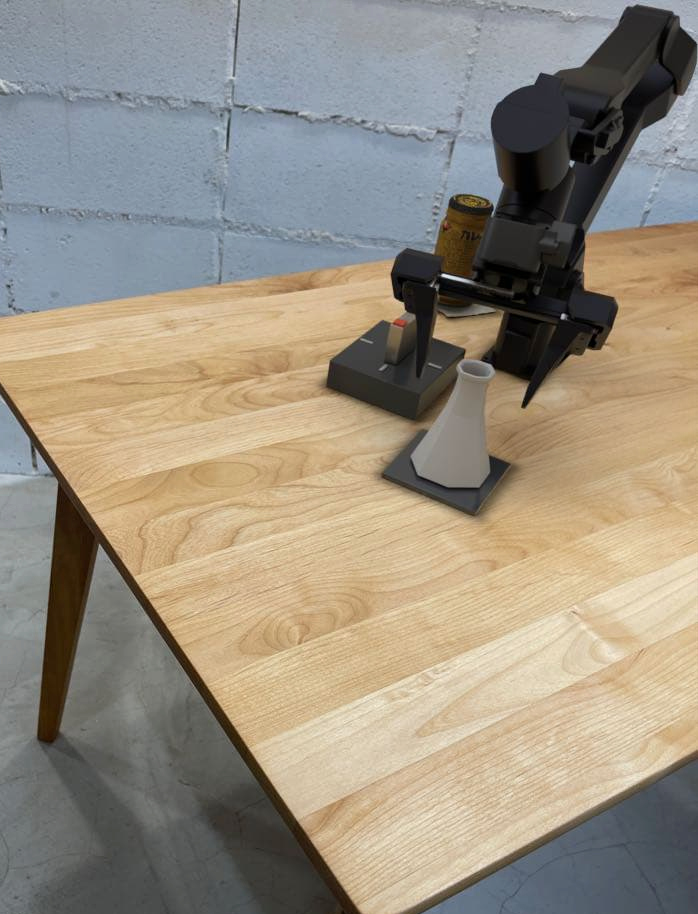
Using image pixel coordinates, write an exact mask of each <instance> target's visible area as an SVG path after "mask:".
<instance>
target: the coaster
mask: <svg viewBox="0 0 698 914" xmlns="http://www.w3.org/2000/svg"><path fill="white" fill-rule="evenodd" d="M428 431H429V430H427V429H424V428H423V429H422V430H421V431H420V432H419V433H418V434H417V435H416V436H415V437H414V438H413V439H412V440H411V441H410V442H409V443H408V444H407V445H406V446H405V447H404V449H403V450H401V452H400V453H399V454H398V455H397V456H396V457H395V458H394V459H393V460H392V461H391V462H390V463H389V464H388V465H387V466H386V468H384V470H383V471H381V475H380V477H381V478H383V479H386V480H387V481H390V482H393V483H395V484H397V485H400V486H402V487H405V488H407V489H409V490H412V491H414V492H416V493H419V494H421V495H424V496H426V497H428V498H431V499H433V500H435V501H438V502H440V503H443V504H445V505H447V506H449V507H452V508H454V509H457V510H459V511H461V512H464V513H466V514H468V515H470V516H474V517H476V515H477V514H478V513H479V511H480V510H481V508H482V507H483V506H484V504H485V503H486V502H487V500H488V499H489V498H490V496H491V495H492V494H493V492H494V490H495V489H496V488H497V487H498V485H499V484H500V483H501V481H502V480H503V478H504V477H505V475H506V474H507V473H508V471H509V470H510V469H511V467H512V463H511V462H509V461H505V460H503V459H500V458H498V457H495V456H493V455H491V454H488V455H489V463H490V473H489V475H488V476H487V477H486V479H485V480H484V482H483V483H482V484H481V486H480V487H446V486H444V485H441V484H439V483H436V482H434V481H431V480H429V479H426V478H424V477H421V476H419V475H418V474H417V472H416V469H415V466H414V464H413V461H412V459H411V455H412V453H413V452H414V450H415V449H416V448H417V446H418V445H419V443H420V442H421V441H422V439H423V438H424V437H425V435H426V434H427V433H428Z"/></svg>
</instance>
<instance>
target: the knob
mask: <svg viewBox="0 0 698 914" xmlns="http://www.w3.org/2000/svg"><path fill="white" fill-rule="evenodd" d="M391 323H392V324H391V325H390V330H389V336H388V341H387V346H386V351H385V356H384V361H386V362H389V363H392V364H394V365H396V364H397V363H399V362H400V361H401V360H402V359H403V358H404V357H405V356H407V355H408V354H409V353H410V352H411V351H412V350H413V349H415V348H416V337H417V328H416V318H415V315H414V314H411V313H408V312H407V311H405V312H404V313H403V314H401V316H399V317H397V318H396V319H395V320H393V321H392V322H391Z"/></svg>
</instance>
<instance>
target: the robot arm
mask: <svg viewBox="0 0 698 914" xmlns="http://www.w3.org/2000/svg"><path fill="white" fill-rule="evenodd" d="M697 63H698V42H697V41H696V40H695V39H694V38H693V37H692V36H691V35H690V34H689V33H687V31H686V30H684V28H683V27H682V26H681V17H680V15H678V14H675V13H674V10H669V9H665V8H660V7H654V6H648V5H644V4H643V5H642V4H639V3H637V4H635V5H633V6H630V5H628V6H626V7H625V9H624V10H623V12H622V14H621V16H620V18H619V20H618V23H617V25H616V27H615V28H614V29H613V30H612V31H611V32H610V33H609V35H608V36H607V37H606V38H605V39H604V40H603V41H602V43H600V45H599V46H598V47H597V48H596V49H595V51H593V53H592V54H591V55H590V56H589V58H587V59H586V61H585V62H584V63H583V64H582V65H581V66H579V67H572V68H571V67H570V68H564V69H559V70H558V71H557V72H555V73H553V74H550V73H545V72H539V74H538V76H537V78H536V79H535V81H534V84H529V85H525V86H521V87H519V88H517V89H515V90H512V91H511V92H510V93H508V94H507V95H506V96H505V97H504V98H502V99H501V101H499V102H497V104H496V105H495V107H494V109H493V111H492V113H491V117H490V131H491V132H490V133H491V137H492V143H493V144H492V145H493V150H494V151H493V152H494V157H495V163H496V171H497V176H498V178H499V179H500V181H501V183H503V184H502V187H501V191H500V193H499V197H498V199H497V203H496V205H495V207H494V211H493V213H492V216H491V217H488V218H487V222H486V225H485V229H484V232H483V236H482V238H481V240H480V243H479V246H478V249H477V252H476V255H475V258H474V261H473V264H472V271H474V275H473V278H472V279H471V278H467V277H463V276H459V275H455V274H451V273H446V272H445V261H444V256H440V255H435V254H434V253H430V252H426V251H424V250H423V251H422V250H418V249H414V248H410V247H405V248H404V249H403V250H401V251H399V253H397V255H396V256H395V259H394V261H393V265H392V268H391V271H390V273H389V275H390V281H391V287H392V293H393V294H392V295H393V298H394V299H395V300H397V301H398V302H400V303H403V307H404V311H405V312H408V313H411V314H414V315H415V318H416V328H417V337H416V379H417V380H421V378H422V375H423V373H424V370H425V368H426V364H427V359H428V355H429V350H430V346H431V341H432V337H433V336H434V333H435V327H436V322H437V318H438V309H437V303H438V301H439V298H440V295H442V296H446V297H450V298H454V299H458V300H462V301H466V302H470V303H474V304H478V305H482V306H486V307H490V308H493V309H494V310H498V311H502V312H503V314H502V318H501V321H500V325H499V328H498V332H497V335H496V339H495V342H494V344H493V345H492V346H491V347H490V348H489V349H488V350H487V352H485V353H484V354H483V356H481V359H480V361H482V362H485V363H488V364H491V365H492V367H493V368H495V369H498V370H501V371H504V372H507V373H510V374H513V375H515V376H518V377H521V378H523V379H527V380H529V383H528V384H527V387H526V390H525V393H524V396H523V398H522V402H521V406H520V408H521V409H524V410H525V409H526V408H527V407H528V406H529V405H530V403H531V402H532V400H533V399H534V398H535V397H536V396H537V394H538V392H539V391H540V390H541V389H542V387H543V386H544V385H545V383H546V382H547V381H548V379H549V378H550V377H551V376H552V374H554V372H555V371H556V370H557V369H558V368H559V367H560V366H561V365H562V364H563V363H564V362H565V361H566V360H567V359H568V358H569V357H570V356H577V357H582V356H584V355H585V352H586V350H590V351H593V352H594V351H602V349H603V348H604V346H605V343H606V341H607V339H608V338H609V335H610V333H611V332H612V330H613V327H614V324H615V321H616V318H617V314H618V311H619V307H620V306H619V303H618V302H617V300H616V298H615V296H611V295H607V294H602V293H598V292H594V291H590V290H586V289H585V272H584V267H585V266H584V265H585V259H586V258H585V256H586V239H585V238H586V235H587V233H588V231H589V229H590V228H591V226H592V223H593V221H594V220H595V218H596V216H597V214H598V212H599V210H600V208H601V207H602V205H603V204H604V201H605V200H606V198H607V196H608V194H609V192H610V190H611V189H612V186H613V184H614V183H615V181H616V179H617V177H618V175H619V173H620V171H621V170H622V168H623V166H624V164H625V162H626V161H627V158H628V156H629V154H630V153H631V151H632V149H633V147H634V145H635V143H636V141H637V139H638V138H639V136H640V134H641V132H642V131H643V130H645V129H647V128H649V127H650V126H652V125H654V124H655V123H658V122H659V121H661V120H663V119H664V118H666V117H667V116H668V114H669V112H670V110H671V109H672V108H673V106H674V105H675V102H676V101H677V99H678V97H679V96H680V97H683V96H684V95H685V94H686V92H687V90H688V88H689V86H690V84H691V82H692V79H693V76H694V73H695V71H696V67H697ZM571 162H573V164H572V166H571V165H570V163H571ZM433 338H434V337H433Z"/></svg>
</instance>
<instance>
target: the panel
mask: <svg viewBox="0 0 698 914" xmlns="http://www.w3.org/2000/svg"><path fill="white" fill-rule="evenodd" d="M392 323H393V322H389V321H387V320H384V319H381V320H380V321H379V322H377V323H376V324H375V325H373V326H372V327H371V328H370V329H368V330H367V331H366V332H365V333H363V334H362V335H360V336H359V337H358V338H357V339H355V340H354V341H352V343H350V344H349V345H348V346H346V347H345V348H344V349H342V350H341V351H340V352H339V353H337V354H335V356H333V357H332V358H330V359H329V364H328V369H327V376H326V383H325V387H327V388H330V389H332V390H335V391H337V392H340V393H342V394H344V395H347V396H350V397H352V398H356V399H358V400H360V401H362V402H366V403H368V404H371V405H373V406H375V407H378V408H381V409H383V410H385V411H388V412H390V413H394V414H396V415H399V416H401V417H403V418H406V419H409V420H411V421H416V420H417V418H418V417H419V416H421V415H422V413H423V412H424V411H426V409H427V408H428V407H429V406H430V405H431V404H432V403H434V401H435V400H436V399H438V397H439V396H440V395H441V394H442V393H443V392H444V391H445V390H446V389H447V388H448V387H449V386H450V385H451V384H452V383H453V382H454V381H455V380H457V378H458V372H457V365H458V364H459V363H460V362H461V360H462V359H465V357H466V353H467V349H466V348H465V347H462V346H459V345H456V344H453V343H451V342H446V341H444V340H441V339H439V338H435V337H432V341H431V346H430V350H429V355H428V359H427V364H426V368H425V370H424V373H423V375H422V378H421V380H417V379H416V348H415V349H413V350H412V351H411V352H410V353H409V354H408V355H407V356H405V357H404V358H403V359H402V360H401V361H400V362H399V363H397V364H396V365H394V364H392V363H389V362H386V361H384V356H385V351H386V346H387V341H388V336H389V330H390V325H391V324H392Z"/></svg>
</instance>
